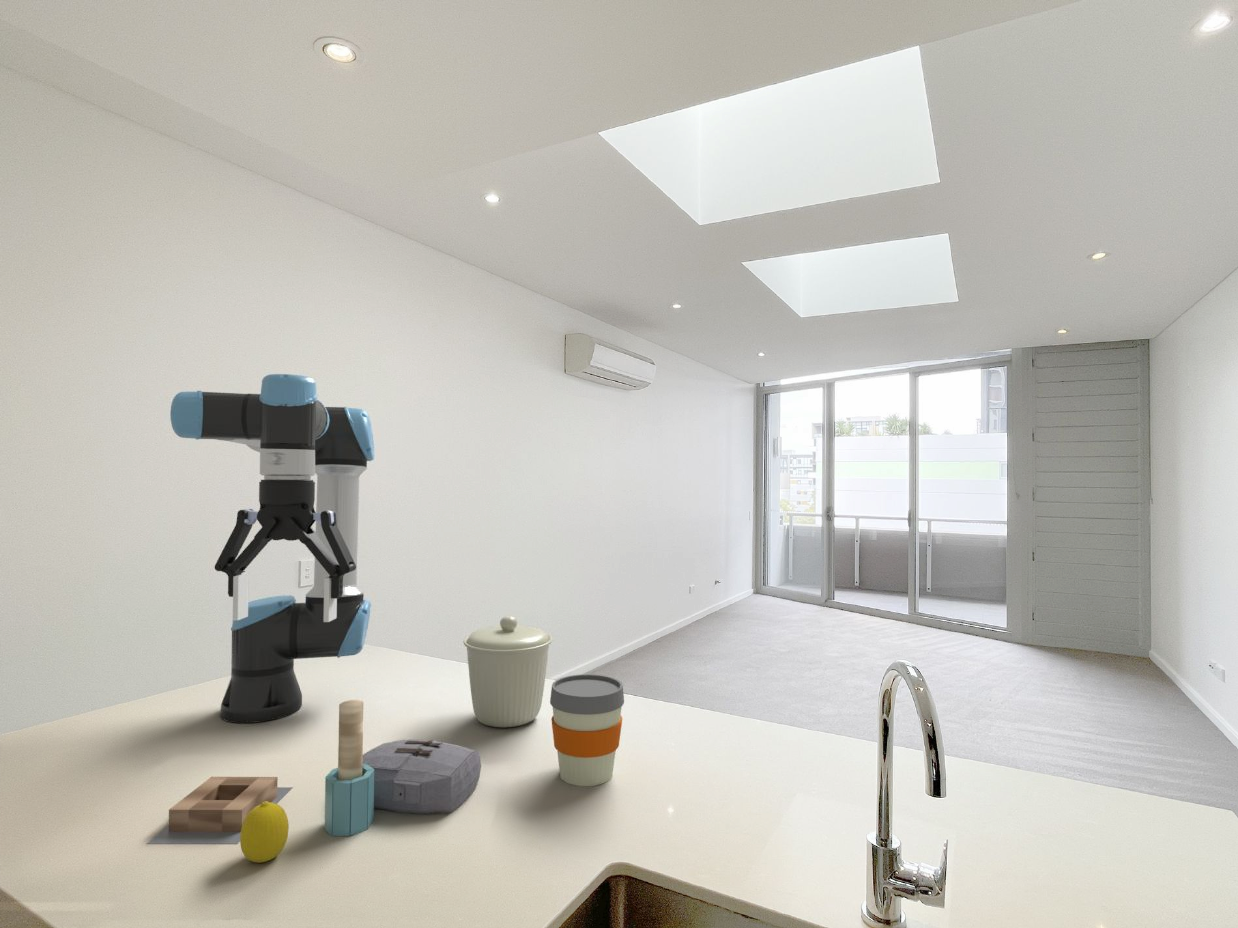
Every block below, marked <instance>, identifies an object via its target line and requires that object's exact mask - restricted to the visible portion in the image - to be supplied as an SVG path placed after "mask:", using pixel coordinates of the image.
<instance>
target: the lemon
mask: <svg viewBox="0 0 1238 928" xmlns="http://www.w3.org/2000/svg"><path fill="white" fill-rule="evenodd" d="M289 827H290V826H289V819H288V816H287V814H286V811H285V809H284V808H283V806H281V805H280V804H278V803H277V804H275V803H270V802H268V801H264V802H263V803H262V804H260V805H258V806H256V807H255V808H253V809H252V810H251V811H250V812H249V813H248V815H247V816H246V818H245V820H244V822H243V825H242V829H241V834H240V842H239V843H240V844H239V845H240V849H241V852H242V854H243V856H245V858H246V859H247V860H248V861H250V862H253V863H259V864H260V863H265V862H266V863H267V862H269V861H271V860H273V859H274V858H275V857H277V856H278V855H279V854H280V853H281V852H282V850H283V849H284V847H285V846H286V843H287V842H288V841H287V840H288V835H289Z"/></svg>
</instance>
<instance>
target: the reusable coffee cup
mask: <svg viewBox="0 0 1238 928" xmlns="http://www.w3.org/2000/svg"><path fill="white" fill-rule="evenodd" d="M549 699H550V700H549V703H550V705H551V707H552V714H553V715H552V717H551V728H552V736H553V739H552V740H553V746H554V748H555V750H556V751H557V752H556V753H557V761H558V770H559V777H560V779H561V780H562V781H563V780H564V781H563V782H565V783H567V784H570V785H572V786H579V787H594V786H599V785H602V784H604V783H607V782H608V781H610V780H611V779H612V778H613V772H614V765H615V759H616V752H617V751H616V750H617V749H618V748H619V746H620V740H621V731H622V723H623V716H622V715H621V714H622V707H623V706H624V703H625V696H624V685H623V683H622V682H621V681H620V680H619V679H617V678H615V677H612V676H608V675H603V674H602V675H601V674H590V673H588V674H587V673H585V674H584V673H583V674H573V675H568V676H564V677H563V676H562V677H560V678H558V679H556V680H555V681H554V682H552V684H551V691H550V698H549Z"/></svg>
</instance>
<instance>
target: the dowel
mask: <svg viewBox="0 0 1238 928" xmlns="http://www.w3.org/2000/svg"><path fill="white" fill-rule="evenodd" d="M338 705H339V706H338V747H337V748H338V749H337V750H338V751H337V752H338V754H337V755H338V756H337V757H338V758H337V760H338V761H337V763H338V764H337V768H338V780H353V779H356V778H359V777H362V761H363V754H364V751H363V750H364V749H363V748H364V747H363V746H364V740H363V739H364V701H362V700H360V699H350V700H344V701H343V702H340V703H339V704H338Z"/></svg>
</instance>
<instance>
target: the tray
mask: <svg viewBox="0 0 1238 928" xmlns="http://www.w3.org/2000/svg"><path fill="white" fill-rule="evenodd" d="M293 788H294V787H289V786H288V787H282V786H281V787H279V786H277V797H276V798H275V799H274V800H273V801H272V802H271V803H275V804H278V803H280V801H281V800H283V798H284V797H286V795H287V794H288V793H289V792H290V791H291V790H292V789H293ZM168 830H169V825H167V826H166V827H165V828H164V829H162V830H161V831H160V832H159V833H157V834H156V835H155V836H153V837H152V839H150V840H149V841H148V842H146V843H145V844H146V845H238V844H239V843H240V834H241V832H168Z"/></svg>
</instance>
